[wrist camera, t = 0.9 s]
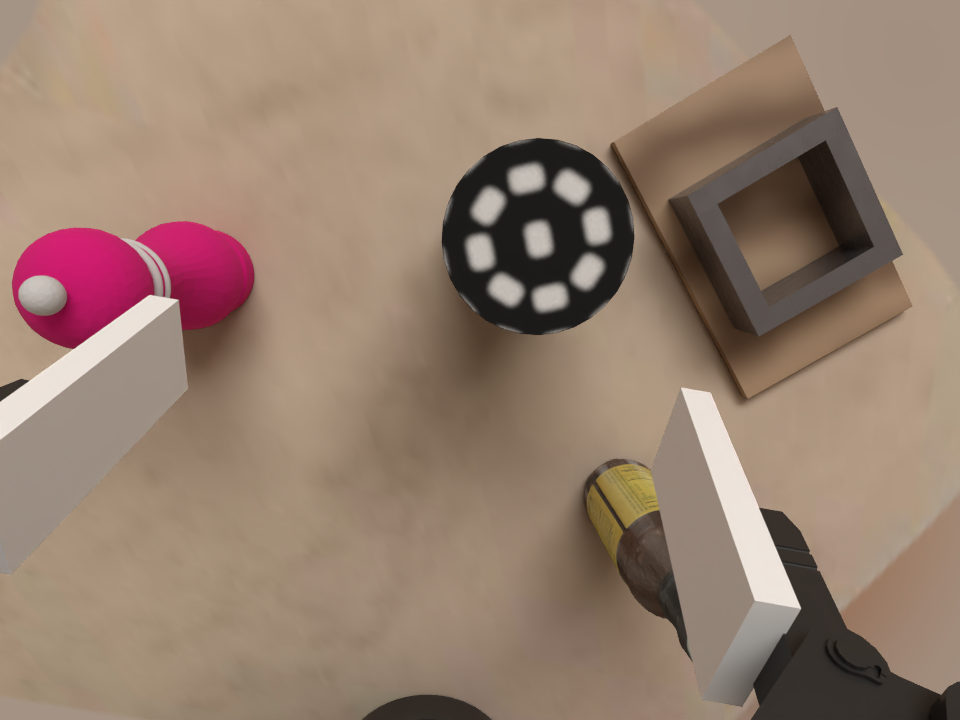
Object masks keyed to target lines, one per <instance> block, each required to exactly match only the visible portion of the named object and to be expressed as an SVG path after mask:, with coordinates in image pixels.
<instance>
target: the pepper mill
mask: <svg viewBox="0 0 960 720" xmlns="http://www.w3.org/2000/svg"><path fill="white" fill-rule="evenodd" d="M253 283H254V269H253V264H252V261H251V259H250V256H249V254H248V253H247V251H246V250H245V248H244V247H243V246H242V245H241V244H240V243H239V242H238V241H237V240H236V239H234V238H233V237H231V236H229V235H227V234H225V233H223V232H220V231H215V230H213V229H211V228H209V227H207V226H205V225H202V224H198V223H194V222H187V221H182V222H171V223H165V224H161V225H158V226H156V227H154V228H151V229H150V230H148V231H146V232H145V233H144V234H142V235H141V236H139V237H138V238H137V239H136V240H135V241H134V240H131V239H126V238H119V237H117V236H115V235H112V234H110V233H107V232H104V231H102V230H97V229H92V228H69V229H61V230H58V231H55V232H52V233H48V234H46V235H45V236H43V237H41V238H39V239H38V240H36V241H35V242H34V243H32V244H31V245H30V246H29V247H28V248H27V249H26V250H25V251H24V252H23V254H22V255H21V257H20V258H19V260H18V262H17V265H16V268H15V270H14V274H13V280H12V289H13V297H14V301H15V305H16V307H17V309H18V311H19V313H20V315H21V316H22V317H23V319H24V320H25V321H26V323H27V324H28V325H29V326H30V327H31V328H32V330H34V331H35V332H36V333H38V334H39V335H40V336H42V337H43V338H45V339H47V340H49V341H50V342H52V343H55V344H57V345H60V346H63V347H66V348H71V349H75V348H76V347H78V346H79V345H80V344H82V343H83V342H85V341H86V340H87V339H89V338H90V337H92V336H93V335H94V334H96V333H97V332H99V331H100V330H101V329H103V328H104V327H106V326H107V325H108V324H110V323H111V322H113V321H114V320H115V319H117V318H118V317H119V316H121V315H122V314H124V313H125V312H126V311H128V310H129V309H131V308H132V307H133V306H135V305H136V304H138V303H139V302H140V301H142V300H143V299H145V298H146V297H147V296H149V295H153V296H159V297H165V298H170V299H176V300H179V308H180V317H181V327H182V330H193V329H200V328H205V327H209V326H211V325H213V324H216V323H218V322H220V321H221V320H222V319H224V318H225V317H226V316H227V315H229V313H230V312H231V311H233V310H235V309H237V308H238V307H239V306H241V305H242V304H243V303H244V302H245V300H246V299H247V298H248V296H249V294H250V292H251V290H252V287H253Z"/></svg>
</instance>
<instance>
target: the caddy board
mask: <svg viewBox="0 0 960 720" xmlns="http://www.w3.org/2000/svg"><path fill="white" fill-rule="evenodd" d="M822 112H824V109H823V106H822V104H821V102H820V100H819V98H818V95H817V93H816V91H815V89H814V86H813V84H812V82H811V80H810V78H809V75H808V73H807V71H806V69H805V67H804V65H803V62H802V60H801V58H800V55H799V53H798V51H797V49H796V46H795V44H794V42H793V40H792V38H791V35H790V36H788V37H787V38H785V39H783V40H782V41H780V42H778V43H777V44H775V45H773V46H772V47H770V48H768V49H767V50H765V51H763V52H762V53H760V54H758V55H757V56H755V57H753V58H752V59H750V60H748V61H747V62H745V63H744V64H742V65H740V66H739V67H737V68H735V69H734V70H732V71H730V72H729V73H727V74H725V75H724V76H722V77H720V78H719V79H717V80H715V81H714V82H712V83H710V84H709V85H707V86H706V87H704V88H702V89H701V90H699V91H697V92H696V93H694V94H692V95H691V96H689V97H687V98H686V99H684V100H682V101H681V102H679V103H677V104H676V105H674V106H672V107H671V108H669V109H668V110H666V111H664V112H663V113H661V114H659V115H658V116H656V117H654V118H653V119H651V120H649V121H648V122H646V123H644V124H643V125H641V126H639V127H638V128H636V129H634V130H633V131H631V132H629V133H628V134H626V135H625V136H623V137H621V138H620V139H618V140H616V141H615V142H613V143H611V145H612V147H613V149H614V151H615V153H616V155H617V157H618V159H619V161H620V162H621V164H622V166H623V168H624V170H625V172H626V174H627V176H628V178H629V180H630V182H631V184H632V185H633V187H634V189H635V191H636V193H637V195H638V197H639V199H640V201H641V203H642V205H643V207H644V208H645V210H646V212H647V214H648V216H649V218H650V220H651V222H652V224H653V226H654V228H655V230H656V231H657V233H658V235H659V237H660V239H661V241H662V243H663V245H664V247H665V249H666V251H667V252H668V254H669V256H670V258H671V260H672V262H673V264H674V266H675V268H676V270H677V272H678V274H679V275H680V277H681V279H682V281H683V283H684V285H685V287H686V289H687V291H688V293H689V295H690V297H691V298H692V300H693V302H694V304H695V306H696V308H697V310H698V312H699V314H700V316H701V318H702V320H703V321H704V323H705V325H706V327H707V329H708V331H709V333H710V335H711V337H712V339H713V341H714V343H715V344H716V346H717V348H718V350H719V352H720V354H721V356H722V358H723V360H724V362H725V364H726V366H727V367H728V369H729V371H730V373H731V375H732V377H733V379H734V381H735V383H736V385H737V387H738V389H739V390H740V392H741V394H742V396H744V397H746V398H747V399H749V398H750V397H752V396H754V395H756V394H757V393H759V392H761V391H763V390H765V389H766V388H768V387H770V386H772V385H773V384H775V383H777V382H779V381H781V380H782V379H784V378H786V377H788V376H789V375H791V374H793V373H795V372H797V371H798V370H800V369H802V368H804V367H805V366H807V365H809V364H811V363H813V362H814V361H816V360H818V359H820V358H822V357H823V356H825V355H827V354H829V353H830V352H832V351H834V350H836V349H838V348H839V347H841V346H843V345H845V344H846V343H848V342H850V341H852V340H854V339H855V338H857V337H859V336H861V335H862V334H864V333H866V332H868V331H870V330H871V329H873V328H875V327H877V326H879V325H880V324H882V323H884V322H886V321H887V320H889V319H891V318H893V317H895V316H896V315H898V314H900V313H902V312H903V311H905V310H907V309H909V308H911V307H912V304H911V302H910V300H909V298H908V295H907V293H906V291H905V289H904V286H903V284H902V282H901V280H900V278H899V275H898V273H897V271H896V269H895V266H894V264H893V262H892V261H891V262H889V263H887V264H886V265H884V266H882V267H880V268H879V269H877V270H875V271H873V272H871V273H870V274H868V275H866V276H864V277H863V278H861V279H859V280H857V281H856V282H854V283H852V284H850V285H849V286H847V287H845V288H843V289H842V290H840V291H838V292H836V293H835V294H833V295H831V296H829V297H828V298H826V299H824V300H822V301H821V302H819V303H817V304H815V305H813V306H812V307H810V308H808V309H806V310H805V311H803V312H801V313H799V314H798V315H796V316H794V317H792V318H791V319H789V320H787V321H785V322H784V323H782V324H780V325H778V326H777V327H775V328H773V329H771V330H770V331H768V332H766V333H764V334H762V335H761V336H756V335H752V334H749V333H746V332H743V331H740V330H737V329H734V327H733V325H732V323H731V321H730V319H729V317H728V316H727V314H726V312H725V310H724V308H723V306H722V304H721V302H720V300H719V298H718V296H717V294H716V292H715V290H714V288H713V286H712V284H711V282H710V280H709V279H708V277H707V275H706V273H705V271H704V269H703V267H702V265H701V263H700V261H699V259H698V257H697V255H696V253H695V251H694V249H693V247H692V245H691V243H690V241H689V240H688V238H687V236H686V234H685V232H684V230H683V228H682V226H681V224H680V222H679V220H678V218H677V216H676V214H675V212H674V210H673V208H672V206H671V204H670V202H669V201H668V199H669V198H671V197H673V196H675V195H676V194H678V193H680V192H681V191H683V190H685V189H686V188H688V187H690V186H691V185H693V184H695V183H696V182H698V181H700V180H701V179H703V178H705V177H707V176H708V175H710V174H712V173H713V172H715V171H717V170H718V169H720V168H722V167H723V166H725V165H727V164H728V163H730V162H732V161H734V160H735V159H737V158H739V157H740V156H742V155H744V154H745V153H747V152H749V151H750V150H752V149H754V148H755V147H757V146H759V145H760V144H762V143H764V142H766V141H767V140H769V139H771V138H772V137H774V136H776V135H777V134H779V133H781V132H782V131H784V130H786V129H787V128H789V127H791V126H793V125H794V124H796V123H798V122H799V121H801V120H803V119H804V118H807V117H810V116H813V115H816V114H819V113H822ZM718 206H719V208H720V210H721V212H722V214H723V216H724V218H725V220H726V222H727V224H728V226H729V228H730V230H731V232H732V234H733V236H734V238H735V240H736V242H737V244H738V246H739V248H740V250H741V252H742V254H743V256H744V258H745V260H746V262H747V264H748V266H749V268H750V270H751V272H752V274H753V276H754V278H755V280H756V282H757V284H758V286H759V288H760V290H761V291H762V290H764V289H766V288H767V287H769V286H771V285H772V284H774V283H776V282H778V281H779V280H781V279H783V278H785V277H786V276H788V275H790V274H792V273H793V272H795V271H797V270H799V269H800V268H802V267H804V266H806V265H807V264H809V263H811V262H813V261H814V260H816V259H818V258H819V257H821V256H823V255H825V254H826V253H828V252H830V251H832V250H833V249H835V248H837V247H839V245H838V242H837V240H836V238H835V236H834V234H833V232H832V229H831V227H830V225H829V223H828V221H827V219H826V217H825V214H824V212H823V210H822V208H821V206H820V204H819V202H818V199H817V197H816V195H815V193H814V191H813V189H812V186H811V184H810V182H809V180H808V178H807V176H806V174H805V171H804V169H803V167H802V165H801V163H800V161H799V158H798V157H796V158H795V159H793V160H791V161H790V162H788V163H786V164H784V165H783V166H781V167H779V168H778V169H776V170H774V171H773V172H771V173H769V174H767V175H766V176H764V177H762V178H761V179H759V180H757V181H756V182H754V183H752V184H751V185H749V186H747V187H745V188H744V189H742V190H740V191H739V192H737V193H735V194H734V195H732V196H730V197H728V198H727V199H725V200H723V201H722V202H720V203H718Z"/></svg>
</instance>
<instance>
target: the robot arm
mask: <svg viewBox="0 0 960 720" xmlns="http://www.w3.org/2000/svg"><path fill="white" fill-rule="evenodd" d="M187 389H188V383H187V373H186V364H185V355H184V345H183V336H182V327H181V317H180V308H179V300H176V299H170V298H165V297H159V296H153V295H149V296H147V297H146V298H145V299H143V300H142V301H140V302H139V303H138V304H136V305H135V306H133V307H132V308H131V309H129V310H128V311H126V312H125V313H124V314H122V315H121V316H119V317H118V318H117V319H115V320H114V321H113V322H111V323H110V324H108V325H107V326H106V327H104V328H103V329H101V330H100V331H99V332H97V333H96V334H94V335H93V336H92V337H90V338H89V339H87V340H86V341H85V342H83V343H82V344H80V345H79V346H78V347H76V348H75V349H73V350H72V351H71V352H69V353H68V354H66V355H65V356H64V357H62V358H61V359H59V360H58V361H57V362H55V363H54V364H52V365H51V366H50V367H48V368H47V369H45V370H44V371H43V372H41V373H40V374H38V375H37V376H36V377H34V378H33V379H31V380H30V381H29V380H23V379H20V380H17V381H15V382H12V383H10V384H7V385H5V386H2V387H0V573H5V574H10V575H12V574H13V573H14V571H15V570H16V569H17V568H18V567H19V566H20V565H21V564H22V563H23V562H24V561H25V560H26V559H27V558H28V557H29V556H30V555H31V554H32V553H33V551H34V550H35V549H36V548H37V547H38V546H39V545H40V544H41V543H42V542H43V541H44V540H45V539H46V538H47V537H48V536H49V535H50V534H51V533H52V532H53V530H54V529H55V528H56V527H57V526H58V525H59V524H60V523H61V522H62V521H63V520H64V519H65V518H66V517H67V516H68V515H69V514H70V513H71V512H72V510H73V509H74V508H75V507H76V506H77V505H78V504H79V503H80V502H81V501H82V500H83V499H84V498H85V497H86V496H87V495H88V494H89V493H90V492H91V490H92V489H93V488H94V487H95V486H96V485H97V484H98V483H99V482H100V481H101V480H102V479H103V478H104V477H105V476H106V475H107V474H108V473H109V472H110V470H111V469H112V468H113V467H114V466H115V465H116V464H117V463H118V462H119V461H120V460H121V459H122V458H123V457H124V456H125V455H126V454H127V453H128V452H129V451H130V449H131V448H132V447H133V446H134V445H135V444H136V443H137V442H138V441H139V440H140V439H141V438H142V437H143V436H144V435H145V434H146V433H147V432H148V431H149V429H150V428H151V427H152V426H153V425H154V424H155V423H156V422H157V421H158V420H159V419H160V418H161V417H162V416H163V415H164V414H165V413H166V412H167V411H168V409H169V408H170V407H171V406H172V405H173V404H174V403H175V402H176V401H177V400H178V399H179V398H180V397H181V396H182V395H183V394H184V393H185V392H186V391H187ZM651 473H652V478H653V482H654V487H655V492H656V496H657V501H658V505H659V510H660V514H661V519H662V523H663V528H664V532H665V537H666V542H667V546H668V551H669V555H670V560H671V564H672V569H673V573H674V578H675V582H676V587H677V592H678V596H679V601H680V605H681V610H682V614H683V619H684V623H685V628H686V632H687V637H688V642H689V646H690V651H691V655H692V660H693V664H694V669H695V673H696V678H697V682H698V687H699V692H700V696H701V699H702V700H708V701H713V702H719V703H724V704H730V705H736V706H741V707H742V706H743V704H744V703H745V701H746V699H747V698H748V696H749V694H750V693H751V691H752V689H753V688H754V689H755V692H756V696H757V699H758V702H759V706H760V707H759V708H758V710H757V711H756V713H755V714H754V716H753V717H752V719H751V720H960V682H956V683H954V684H953V685H951V686H949V687H948V688H947V689H946V690H945V691H944V692H943V694H942V695H940V694H938V693H935V692H933V691H931V690H929V689H926V688H924V687H922V686H920V685H917V684H915V683H913V682H910V681H908V680H906V679H904V678H901V677H899V676H897V675H896V674H894V673H892V672H890V669H889V667H888V664H887V662H886V661H885V660H884V658H883V657H882V656H881V654H880V653H879V652H878V651H877V649H876V648H875V647H873V646H872V645H871V644H870V643H869V642H867V641H866V640H865V639H864V638H863V637H861V636H859V635H857V634H855V633H854V632H852V631H850V630H848V629H847V627H846V625H845V623H844V621H843V619H842V617H841V615H840V613H839V611H838V609H837V607H836V605H835V602H834V600H833V598H832V596H831V594H830V592H829V590H828V588H827V586H826V584H825V582H824V580H823V577H822V575H821V573H820V571H817V565H816V563H815V561H814V559H813V557H812V555H810V554H809V551H810V550H809V548H808V546H807V544H806V542H805V540H804V538H803V536H802V534H801V532H800V530H799V529H798V528H797V527H796V526H795V525H794V524H793V523H792V522H791V521H790V520H789V519H788V517H787V516H786V515H785V514H784V513H783V512H780V511H774V510H769V509H763V508H759V507H758V505H757V502H756V500H755V497H754V495H753V493H752V490H751V488H750V486H749V483H748V481H747V478H746V476H745V474H744V471H743V469H742V467H741V464H740V462H739V459H738V457H737V455H736V452H735V450H734V447H733V445H732V443H731V440H730V438H729V436H728V433H727V431H726V428H725V426H724V424H723V421H722V419H721V417H720V414H719V412H718V409H717V407H716V405H715V402H714V400H713V397H712V395H711V393H710V392H704V391H698V390H692V389H687V388H680V391H679V394H678V397H677V399H676V402H675V405H674V408H673V411H672V413H671V416H670V419H669V422H668V424H667V427H666V430H665V433H664V435H663V438H662V441H661V444H660V446H659V449H658V452H657V455H656V457H655V460H654V463H653V466H652V468H651ZM363 720H491V719H490V718H489V717H488V716H487V715H485V714H484V713H483V712H481V711H480V710H478V709H477V708H475V707H473V706H471V705H469V704H467V703H465V702H463V701H460V700H457V699H453V698H450V697H445V696H438V695H417V696H410V697H405V698H401V699H397V700H394V701H392V702H389V703H387V704H385V705H383V706H381V707H379V708H377V709H376V710H374V711H373V712H371V713H370V714H368V715H367V716H366V717H365V718H364V719H363Z"/></svg>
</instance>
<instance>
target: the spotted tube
mask: <svg viewBox="0 0 960 720" xmlns="http://www.w3.org/2000/svg"><path fill="white" fill-rule="evenodd" d="M633 244H634V225H633V216H632V213H631V209H630V205H629V202H628V199H627V197H626V195H625V193H624V191H623V189H622V187H621V185H620V183H619V181H618V180H617V179H616V177H615V176H614V175H613V174H612V172H611V171H610V170H609V168H608V167H607V166H606V165H604V164H603V163H602V162H601V161H600V160H599V159H597V158H596V157H595V156H594V155H593V154H591V153H589V152H587V151H585V150H583V149H582V148H580V147H578V146H576V145H573V144H570V143H566V142H563V141H560V140H553V139H542V138H536V139H527V140H519V141H516V142H513V143H510V144H507V145H504V146H501V147H499V148H497V149H496V150H494V151H492V152H490V153H489V154H487V155H485V156H484V157H482V158H481V159H480V160H479V161H478V162H477V163H476V164H474V165H473V166H472V167H471V168H470V169H469V170H468V171H467V172H466V174H465V175H464V176H463V178H462V179H461V180H460V182H459V183H458V184H457V186H456V188H455V190H454V192H453V194H452V196H451V198H450V200H449V202H448V205H447V209H446V213H445V217H444V220H443V230H442V247H443V255H444V261H445V264H446V267H447V270H448V273H449V276H450V279H451V281H452V283H453V284H454V286H455V288H456V290H457V291H458V293H459V295H460V296H461V297H462V298H463V300H464V301H465V302H466V303H467V304H468V305H469V307H470V308H471V309H472V310H473V311H475V312H476V313H477V314H479V315H480V316H481V317H482V318H484V319H485V320H486V321H488V322H490V323H492V324H494V325H496V326H498V327H500V328H502V329H505V330H509V331H512V332H516V333H520V334H532V335H543V334H551V333H558V332H561V331H564V330H567V329H570V328H573V327H575V326H577V325H579V324H581V323H583V322H585V321H586V320H588V319H590V318H591V317H593V316H594V315H595V314H596V313H597V312H599V311H600V310H601V309H602V308H603V307H605V306H606V304H607V303H608V302H609V301H610V299H611V298H612V297H613V296H614V295H615V293H616V292H617V291H618V289H619V287H620V285H621V283H622V282H623V280H624V278H625V276H626V274H627V271H628V268H629V264H630V261H631V258H632V253H633Z"/></svg>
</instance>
